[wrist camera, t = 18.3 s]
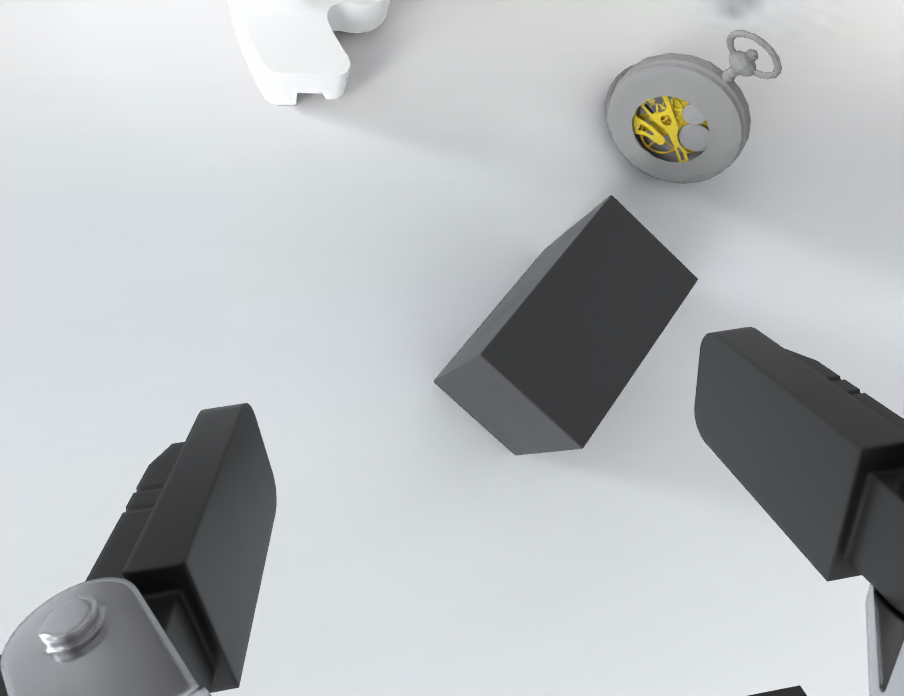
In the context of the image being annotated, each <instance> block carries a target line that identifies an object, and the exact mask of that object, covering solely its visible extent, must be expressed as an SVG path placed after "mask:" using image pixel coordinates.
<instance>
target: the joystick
mask: <svg viewBox="0 0 904 696" xmlns="http://www.w3.org/2000/svg"><path fill="white" fill-rule="evenodd" d="M228 2H229V7H230V12H231V16H232V21H233V24H234V28H235V32H236V35H237V38H238V41H239V44H240V47H241V49H242V52H243V55H244V57H245V60H246V62H247V64H248V66H249V69H250V71H251V73H252V75H253V77H254V79H255V81H256V83H257V85H258V87H259V89H260V90H261V92H262V94H263V96H264V97H265V99H266V100H268V101H269V102H270V103H273V104H276V105H296V100H297V93H322V94H323V95H324V96H325V98H326V99H338V98H340V97H342V96H343V94H344V92H345V88H346V83H347V78H348V74H349V69H350V59H349V57H348V56H347V54H346V52H345V51H344V49H343V48H342V46H341V45H340V43H339V41H338V40H337V38H336V36H335V34H334V32H333V31H344V32H349V33H364V32H368V31H371V30H374V29H375V28H377V27H378V26H380V25H381V24H382V23H383V21H384V20H385V18H386V16H387V13H388V9H389V5H390V2H391V0H228Z"/></svg>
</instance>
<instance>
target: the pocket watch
mask: <svg viewBox="0 0 904 696" xmlns="http://www.w3.org/2000/svg"><path fill="white" fill-rule="evenodd" d="M736 37H745V38H749V39H752V40H754V41H756V42H757V43H758V44H759V45H761V46H762V47H763V48H764V49H766V51H767V52H768V53H769V54H770V56H771V57H772V59H773V63H774V66H775V67H774V71H773V72H771V73H769V72H761V71H758V70H756V65H755V62H754V61H756V60H757V59H758V54H757V51H756V50H752V49H749V50H748V51H747V53H745V52H742V51H736V50H735V49H734V39H735V38H736ZM727 46H728V49H729V51H730V54H731V55H730V56H729V62H730V66H731V67H730V68H729V69H727V70H725V71H722V70H721V69H719V68H718V67H717V66H715V65H714V64H712V63H711V62H708V61H706V60H703V59H700V58H697V57H695V56H691V55H683V54H674V53H668V54H663V55H658V56H654V57H649V58H646V59H644V60H643V61H641V62H639V63H638V64H636V65H633V66H630V67H629V68H627V69H625V70H624V71H623V72H621V73H620V74H619V75H618V76H617V77H616V78H615V80H614V82H613V83H612V85H611V87H610V89H609V91H608V93H607V98H606V120H607V123H608V126H609V130H610V132H611V135H612V138H613V140H614V142H615V144H616V146H617V148H618V149H619V150H620V151H621V153H622V154H623V155H624V157H625V158H626V159H627V160H628V161H630V162H631V163H632V164H633V165H634V166H635V167H637V168H638V169H640V170H641V171H643V172H645V173H647V174H649V175H651V176H653V177H655V178H657V179H661V180H665V181H669V182H675V183H693V182H700V181H703V180H706V179H710V178H712V177H714V176H715V175H717V174H719V173H721V172H722V171H723V170H724V169H726V168H727V167H729V166H730V165H731V164H732V163H733V162H734V160H735V159H736V158H737V157H738V156H739V154H740V153H741V151H742V149H743V147H744V145H745V143H746V142H747V140H748V138H749V130H750V123H751V119H750V113H749V106H748V103H747V101H746V99H745V97H744V95H743V93H742V91H741V89H740V88H739V87H738V85H737V84H736V83H735V82H734V81H733V80H734V79H735V77H736V76H738V75H739V74H740V75H742V76H752V75H755V76H757V77H760V78H764V79H771V78H776V77H777V76H778V75H779V74H780V73H781V70H782V67H781V62H780V58H779V56H778V55H777V53H776V52H775V50H774V49H773V48H772V47H771V46H770V45H769V44H768V43H767V42H766V41H765V40H763V39H762V38H761V37H759V36H758V35H756V34H754V33H750V32H747V31H744V30H735V31H733V32H731V33H730V34H729V36H728V38H727Z"/></svg>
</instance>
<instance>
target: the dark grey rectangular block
mask: <svg viewBox="0 0 904 696" xmlns="http://www.w3.org/2000/svg"><path fill="white" fill-rule="evenodd" d="M697 280H698V279H697V277H695V276H694V275H693V274H692V273H691V272H690V271H689V270H688V269H687V268H686V267H685V266H684V265H683V264H682V263H681V262H680V261H679V260H678V259H677V258H676V257H675V256H674V255H673V254H672V253H671V252H670V251H669V250H668V249H667V248H666V247H665V246H664V245H663V244H662V243H660V242H659V241H658V240H657V239H656V238H655V237H654V236H653V235H652V234H651V233H650V232H649V231H648V230H647V229H646V228H645V227H644V226H643V225H642V224H641V223H640V222H639V221H638V220H637V219H636V218H635V217H634V216H633V215H632V214H631V213H630V212H629V211H628V210H626V209H625V208H624V207H623V206H622V205H621V204H620V203H619V202H618V201H617V200H616V199H615V198H614V197H613V196H612V195H611V196H609V197H608V198H607V199H606V200H604V201H603V202H602V203H601V204H600V205H598V206H597V207H596V208H595V209H593V210H592V211H591V212H590V213H589V214H587V215H586V216H585V217H584V218H582V219H581V220H580V221H579V222H578V223H576V224H575V225H574V226H573V227H571V228H570V229H569V230H568V231H567V232H565V233H564V234H563V235H562V236H561V237H559V238H558V239H557V240H556V241H554V242H553V243H552V244H551V245H550V246H548V247H547V248H546V249H545V250H544V251H543V252H542V253H541V254H540V256H539V257H538V258H537V259H536V260H535V262H534V263H533V264H532V265H531V266H530V268H529V269H528V270H527V271H526V272H525V273H524V275H523V276H522V277H521V278H520V279H519V281H518V282H517V283H516V284H515V285H514V286H513V288H512V289H511V290H510V291H509V292H508V294H507V295H506V296H505V297H504V298H503V300H502V301H501V302H500V303H499V304H498V305H497V307H496V308H495V309H494V310H493V311H492V313H491V314H490V315H489V316H488V317H487V318H486V320H485V321H484V322H483V323H482V324H481V326H480V327H479V328H478V329H477V330H476V332H475V333H474V334H473V335H472V336H471V337H470V339H469V340H468V341H467V342H466V343H465V345H464V346H463V347H462V348H461V349H460V350H459V352H458V353H457V354H456V355H455V356H454V358H453V359H452V360H451V361H450V362H449V364H448V365H447V366H446V367H445V368H444V369H443V371H442V372H441V373H440V374H439V375H438V377H437V378H436V379H435V380H434V383H435V384H437V385H438V386H439V387H440V388H441V389H442V390H443V391H444V392H445V393H447V394H448V395H449V396H450V397H451V398H452V399H453V400H454V401H455V402H457V403H458V404H459V405H460V406H461V407H462V408H463V409H464V410H465V411H467V412H468V413H469V414H470V415H471V416H472V417H473V418H474V419H475V420H477V421H478V422H479V423H480V424H481V425H482V426H483V427H484V428H485V429H487V430H488V431H489V432H490V433H491V434H492V435H493V436H494V437H495V438H497V439H498V440H499V441H500V442H501V443H502V444H503V445H504V446H505V447H507V448H508V449H509V450H510V451H511V452H512V453H513V454H514V455H523V454H533V453H543V452H553V451H563V450H573V449H582V448H583V447H584V446H585V444H586V443H587V442H588V440H589V439H590V437H591V436H592V434H593V433H594V431H595V430H596V428H597V427H598V425H599V424H600V422H601V421H602V420H603V418H604V417H605V415H606V414H607V412H608V411H609V409H610V408H611V406H612V405H613V403H614V402H615V400H616V399H617V398H618V396H619V395H620V393H621V392H622V390H623V389H624V387H625V386H626V384H627V383H628V381H629V380H630V378H631V377H632V376H633V374H634V373H635V371H636V370H637V368H638V367H639V365H640V364H641V362H642V361H643V359H644V358H645V356H646V355H647V354H648V352H649V351H650V349H651V348H652V346H653V345H654V343H655V342H656V340H657V339H658V337H659V336H660V334H661V333H662V332H663V330H664V329H665V327H666V326H667V324H668V323H669V321H670V320H671V318H672V317H673V315H674V314H675V312H676V311H677V310H678V308H679V307H680V305H681V304H682V302H683V301H684V299H685V298H686V296H687V295H688V293H689V292H690V290H691V289H692V288H693V286H694V285H695V283H696V282H697Z"/></svg>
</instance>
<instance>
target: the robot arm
mask: <svg viewBox="0 0 904 696" xmlns="http://www.w3.org/2000/svg"><path fill="white" fill-rule="evenodd" d="M694 411H695V420H696V424H697V428H698V430H699V433H700V435H701V437H702V438H703V440H704V441H705V443H706V444H707V445H708V446H709V447H710V448H711V450H712V451H713V452H714V453H715V454H716V455H717V456H718V458H719V459H720V460H721V461H722V462H723V463H724V464H725V466H726V467H727V468H728V469H729V470H730V471H731V472H732V473H733V475H734V476H735V477H736V478H737V479H738V480H739V481H740V483H741V484H742V485H743V486H744V487H745V488H746V489H747V491H748V492H749V493H750V494H751V495H752V496H753V497H754V499H755V500H756V501H757V502H758V503H759V504H760V505H761V507H762V508H763V509H764V510H765V511H766V512H767V513H768V514H769V516H770V517H771V518H772V519H773V520H774V521H775V522H776V524H777V525H778V526H779V527H780V528H781V529H782V530H783V532H784V533H785V534H786V535H787V536H788V537H789V538H790V540H791V541H792V542H793V543H794V544H795V545H796V546H797V548H798V549H799V550H800V551H801V552H802V553H803V554H804V555H805V557H806V558H807V559H808V560H809V561H810V562H811V563H812V565H813V566H814V567H815V568H816V569H817V570H818V571H819V573H820V574H821V575H822V576H823V577H824V578H825V579H826V581H832V580H837V579H843V578H848V577H854V576H859V575H863V576H864V577H865V578H866V579H867V580H868V581H869V582H870V583H871V584H870V587H869V590H868V593H867V597H866V624H867V649H868V674H869V696H904V419H903V418H901V417H900V416H898V415H897V414H895V413H894V412H892V411H891V410H889V409H888V408H886V407H885V406H883V405H882V404H880V403H879V402H877V401H876V400H874V399H873V398H872V397H870V396H869V395H867V394H866V393H862V394H861V393H860V389H858V388H857V387H855V386H854V385H852V384H851V383H849V382H848V381H846V380H841V379H840V376H839V375H837V374H836V373H834V372H833V371H831V370H830V369H828V368H827V367H825V366H824V365H822V364H821V363H819V362H818V361H816V360H814V359H811V358H808V357H806V356H803V355H800V354H798V353H795V352H792V351H790V350H787V349H784V348H783V347H781V346H780V345H778V344H777V343H775V342H774V341H773V340H771V339H770V338H768V337H767V336H765V335H764V334H762V333H761V332H760V331H758V330H757V329H755V328H752V327H745V328H739V329H732V330H726V331H719V332H713V333H708V334H706V335H705V336H704V338H703V340H702V342H701V347H700V356H699V366H698V376H697V387H696V397H695V409H694ZM136 489H137V492H136V493H133V495H132V497H131V499H130V501H129V502H128V504H127V506H126V512H124V513H122V515H121V517H120V519H119V521H118V523H117V524H116V526H115V528H114V530H113V532H112V534H111V535H110V537H109V539H108V541H107V543H106V544H105V546H104V548H103V550H102V552H101V554H100V555H99V557H98V559H97V561H96V563H95V565H94V566H93V568H92V570H91V572H90V574H89V576H88V577H87V579H86V581H85V582H83V583H80V584H78V585H75V586H73V587H70V588H68V589H66V590H64V591H63V592H61V593H59V594H57V595H55V596H54V597H52V598H51V599H49V600H47V601H46V602H45V603H43V604H42V605H41V606H39V607H38V608H37V609H35V610H34V611H33V612H32V613H31V614H30V615H29V616H28V617H26V619H25V620H24V621H23V622H22V623H21V624H20V625H19V626H18V627H17V628H16V630H15V631H14V632H13V634H12V635H11V636H10V638H9V640H8V642H7V643H6V645H5V647H4V650H3V653H2V654H1V655H0V696H211V695H210V693H212V692H218V691H223V690H228V689H234V688H239V684H240V680H241V675H242V670H243V665H244V661H245V656H246V651H247V646H248V642H249V637H250V632H251V627H252V622H253V618H254V613H255V608H256V603H257V599H258V594H259V589H260V584H261V580H262V575H263V570H264V565H265V560H266V556H267V551H268V546H269V541H270V537H271V532H272V527H273V522H274V518H275V513H276V486H275V480H274V476H273V472H272V469H271V466H270V462H269V459H268V456H267V453H266V449H265V446H264V443H263V440H262V436H261V433H260V430H259V427H258V423H257V420H256V417H255V414H254V411H253V409H252V407H251V406H250V405H249V404H248V403H244V404H237V405H230V406H224V407H217V408H211V409H204V410H202V411H200V413H199V414H198V416H197V418H196V420H195V423H194V425H193V427H192V429H191V431H190V433H189V435H188V437H187V439H186V441H185V442H181V443H175V444H172V445H171V446H169V447H168V448H167V449H166V450H165V451H164V452H163V453H162V454H161V455H160V456H158V457H157V458H156V459H155V460H154V461H153V462H152V463H151V464H150V465H149V466H148V468H147V470H146V471H145V473H144V475H143V477H142V479H141V481H140V482H139V484H138V486H137V488H136ZM749 696H807V695H806V694H805V692H804V691H803V689H802V688H801V686H795V687H790V688H784V689H779V690H774V691H769V692H764V693H759V694H754V695H749Z"/></svg>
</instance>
